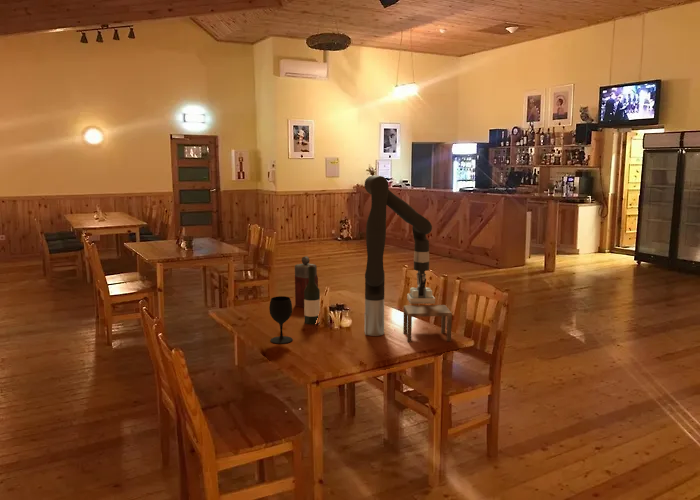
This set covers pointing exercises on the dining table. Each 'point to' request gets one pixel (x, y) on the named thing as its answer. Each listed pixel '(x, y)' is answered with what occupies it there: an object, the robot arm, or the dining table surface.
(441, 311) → the counter shelf
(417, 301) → the tray
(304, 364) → the dining table surface
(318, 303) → the wine bottle
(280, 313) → the wine glass
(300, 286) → the pepper mill
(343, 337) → the dining table surface
